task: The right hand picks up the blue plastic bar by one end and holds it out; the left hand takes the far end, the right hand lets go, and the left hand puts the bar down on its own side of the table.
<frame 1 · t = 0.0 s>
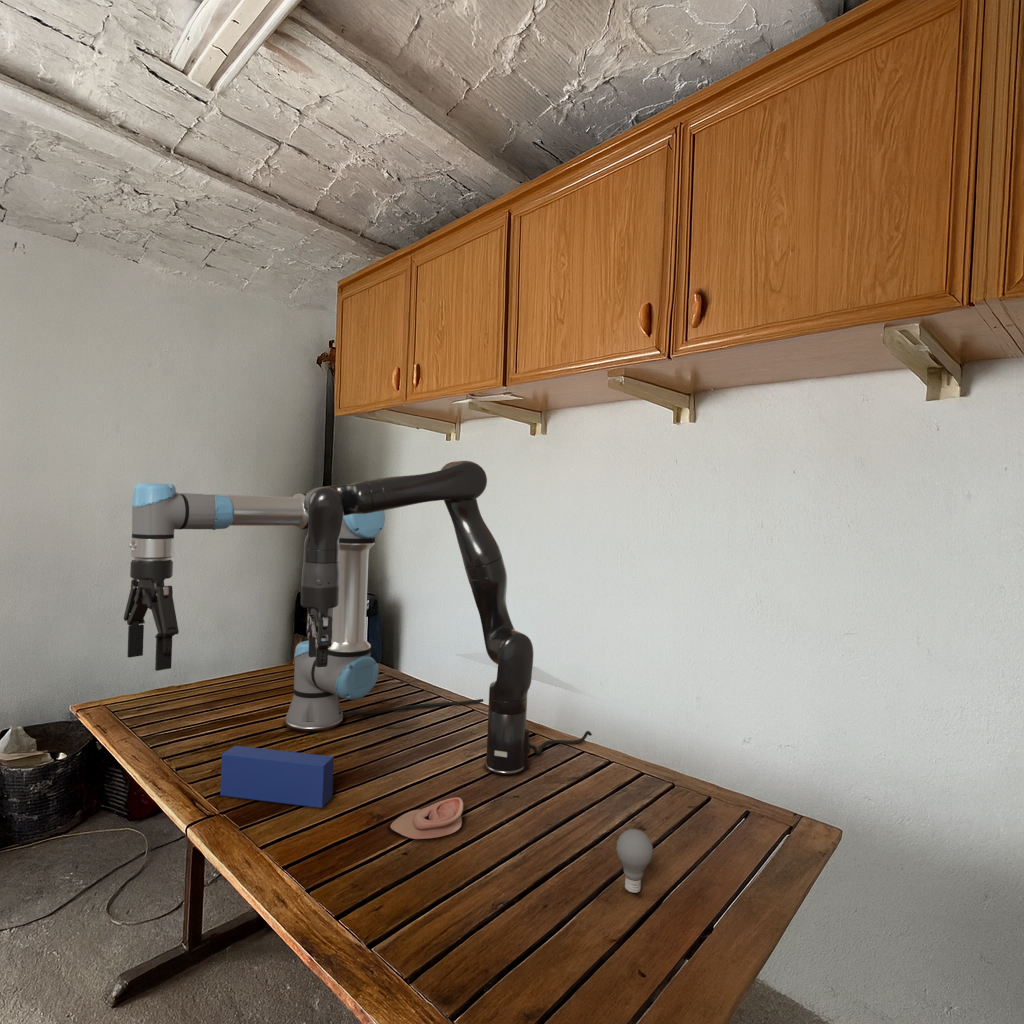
left hand: (148, 662, 129), 28 cm above the table, tool pointing down, fingers open, 13 cm apart
right hand: (317, 661, 131), 29 cm above the table, tool pointing down, fingers open, 8 cm apart
anatomical model: (427, 825, 124), on the table
fossil: (329, 681, 216), on the table
light bulb: (632, 891, 106), on the table
bar: (276, 796, 133), on the table
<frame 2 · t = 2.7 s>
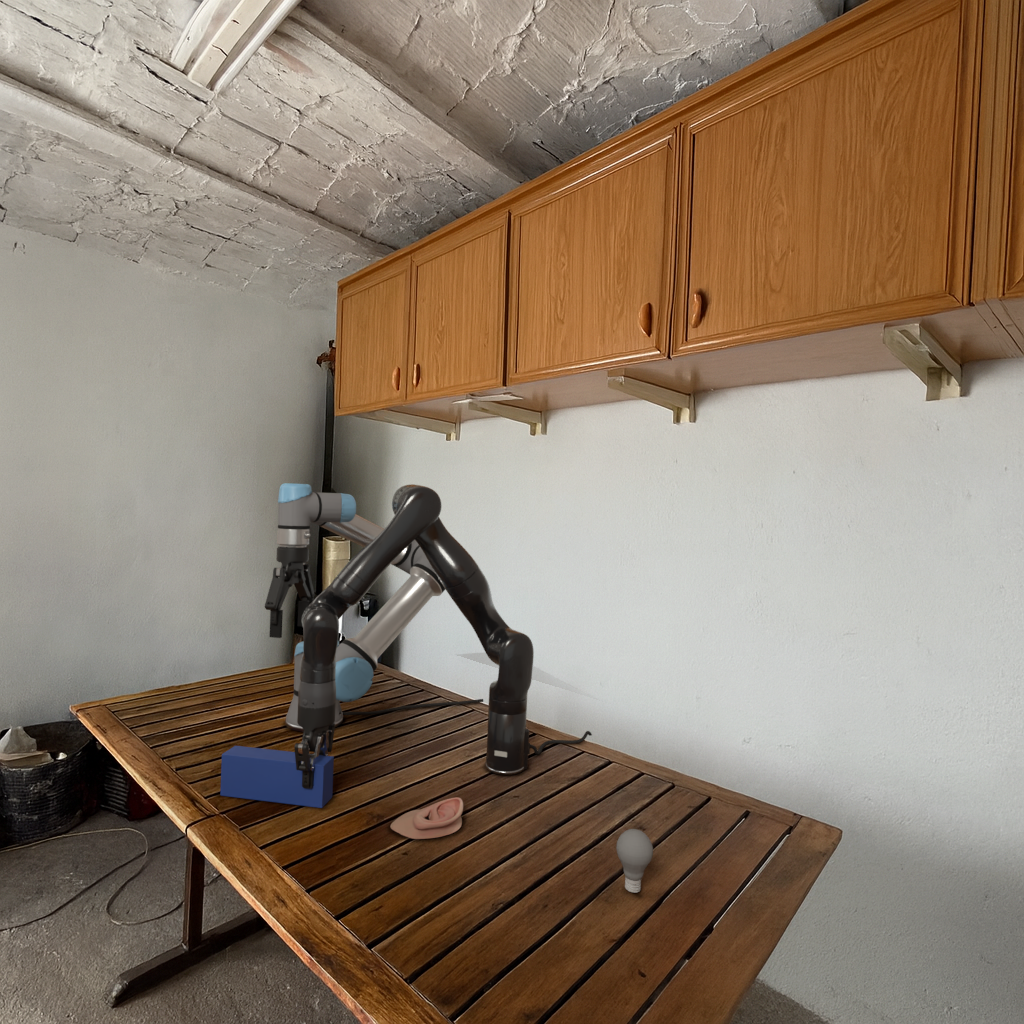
left hand: (289, 631, 156), 30 cm above the table, tool pointing down, fingers open, 13 cm apart
right hand: (314, 781, 132), 4 cm above the table, tool pointing down, fingers closed on bar, 5 cm apart
bar: (276, 796, 133), on the table, touching right hand
everything else where it was.
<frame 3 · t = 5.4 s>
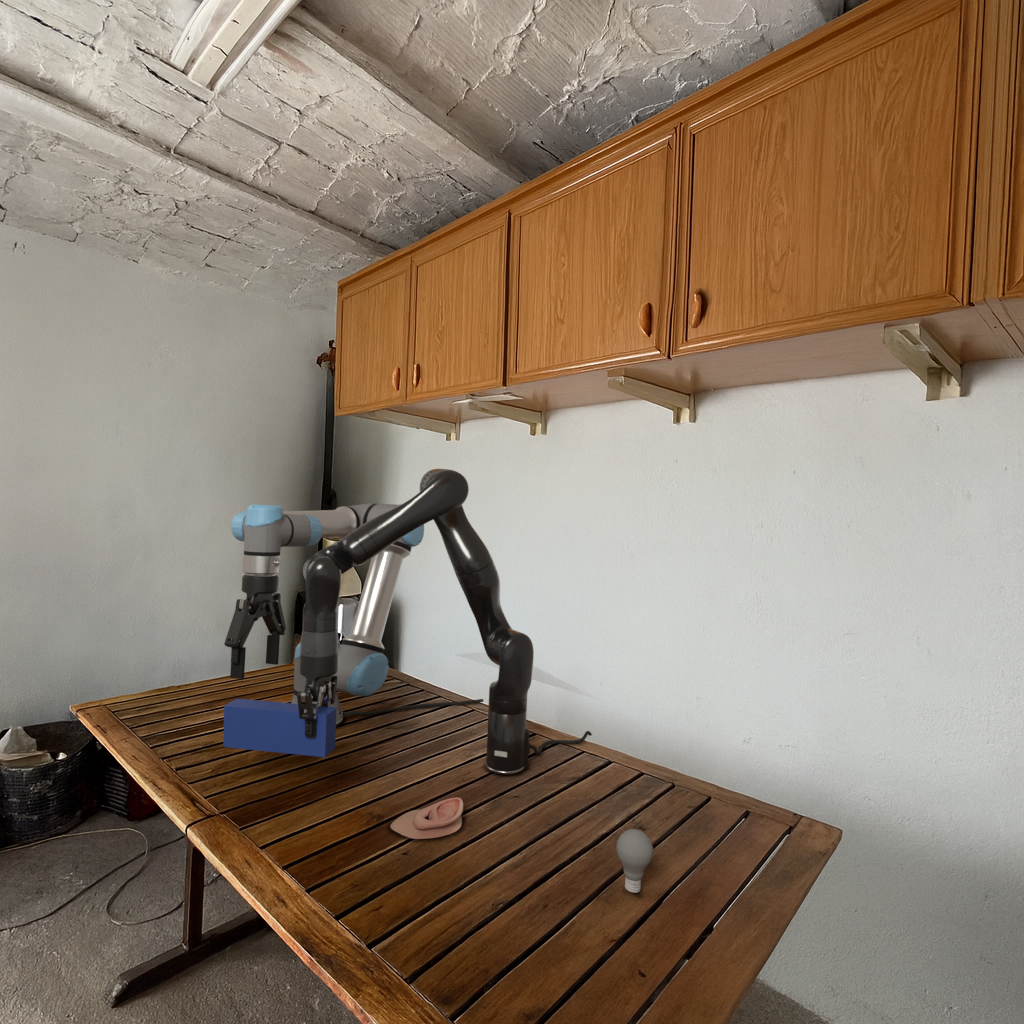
left hand: (255, 670, 139), 24 cm above the table, tool pointing down, fingers open, 13 cm apart
right hand: (316, 731, 132), 14 cm above the table, tool pointing down, fingers closed on bar, 5 cm apart
bar: (279, 747, 133), point 10 cm above the table, touching right hand
everything else where it was.
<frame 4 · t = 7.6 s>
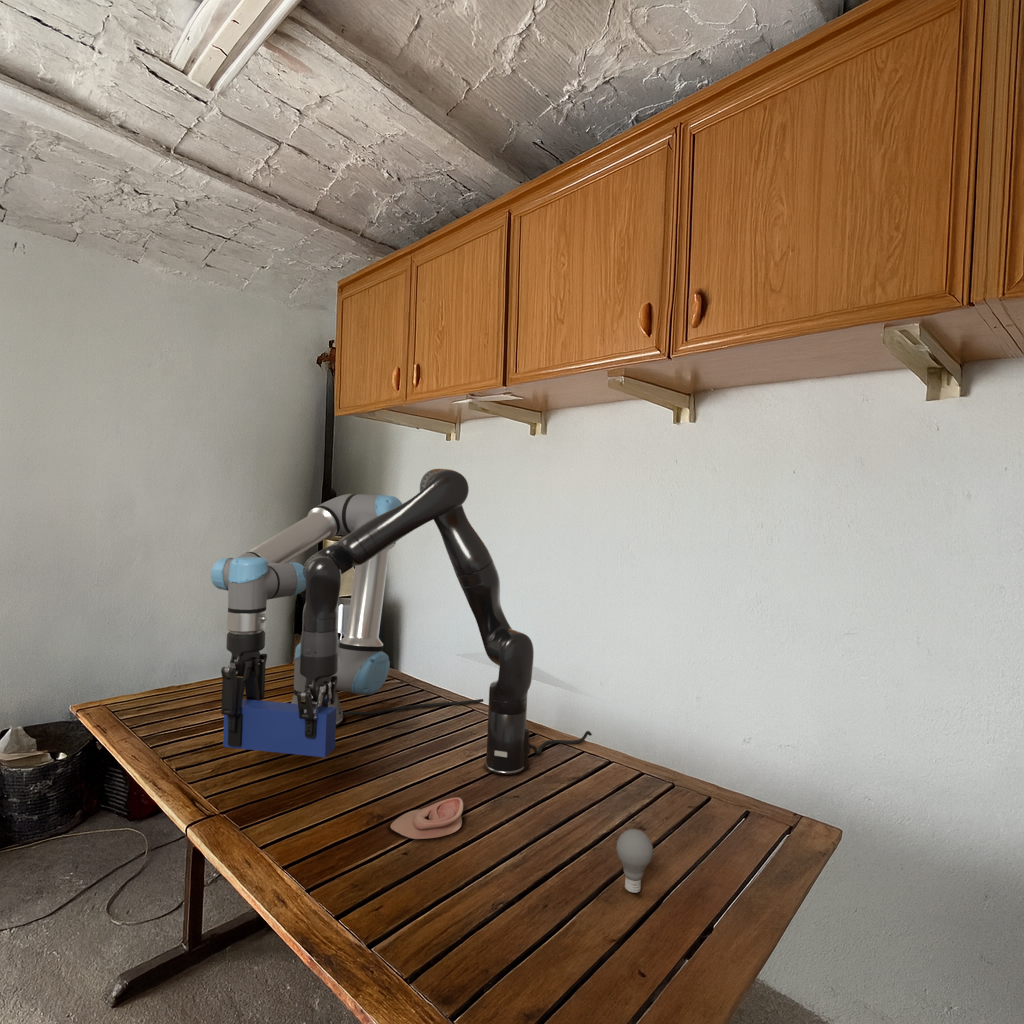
left hand: (242, 740, 134), 11 cm above the table, tool pointing down, fingers closed on bar, 5 cm apart
right hand: (316, 731, 132), 14 cm above the table, tool pointing down, fingers closed on bar, 5 cm apart
bar: (279, 747, 133), point 10 cm above the table, touching left hand, right hand
everything else where it was.
when the right hand's fingers open (14 cm above the table, at t = 8.6 s): bar stays where it is, held by the left hand.
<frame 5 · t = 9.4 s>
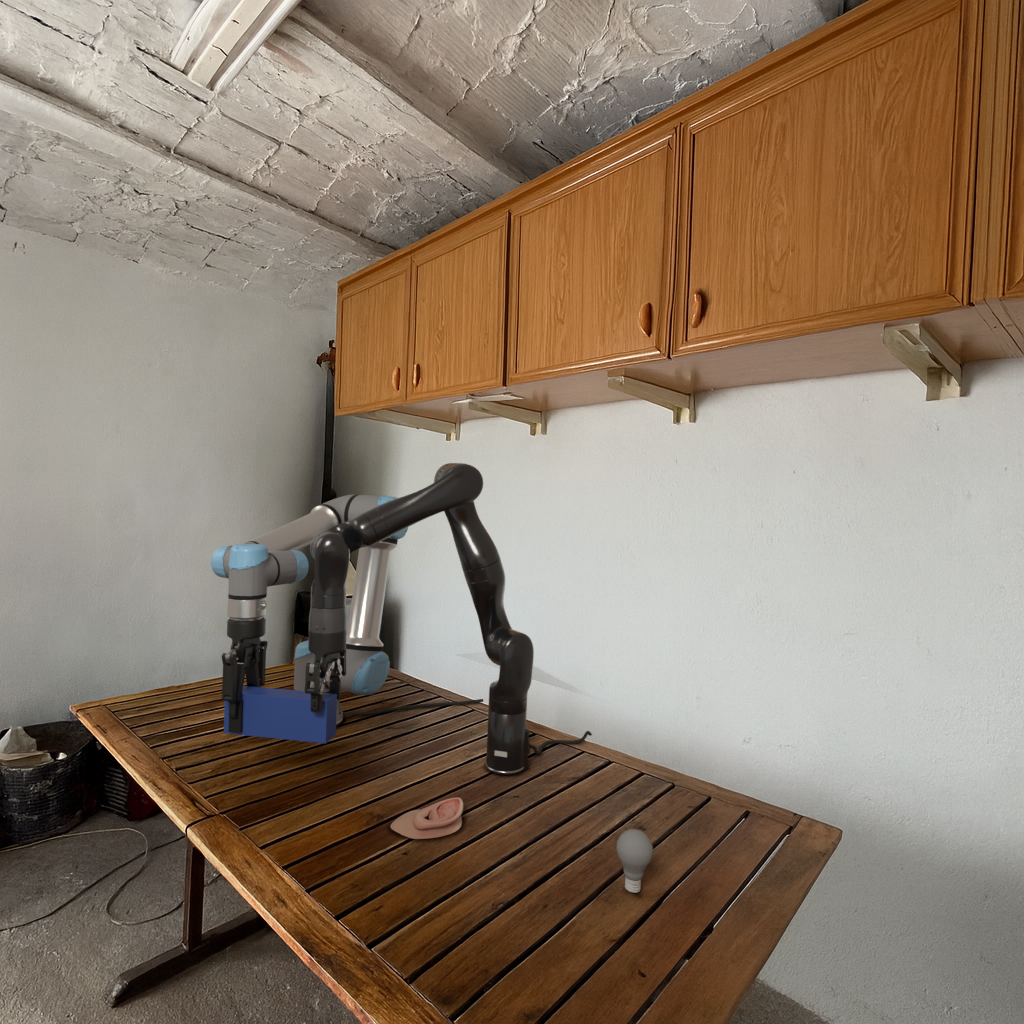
left hand: (243, 726, 134), 14 cm above the table, tool pointing down, fingers closed on bar, 5 cm apart
right hand: (326, 705, 131), 20 cm above the table, tool pointing down, fingers open, 8 cm apart
bar: (280, 734, 133), point 13 cm above the table, touching left hand
everything else where it was.
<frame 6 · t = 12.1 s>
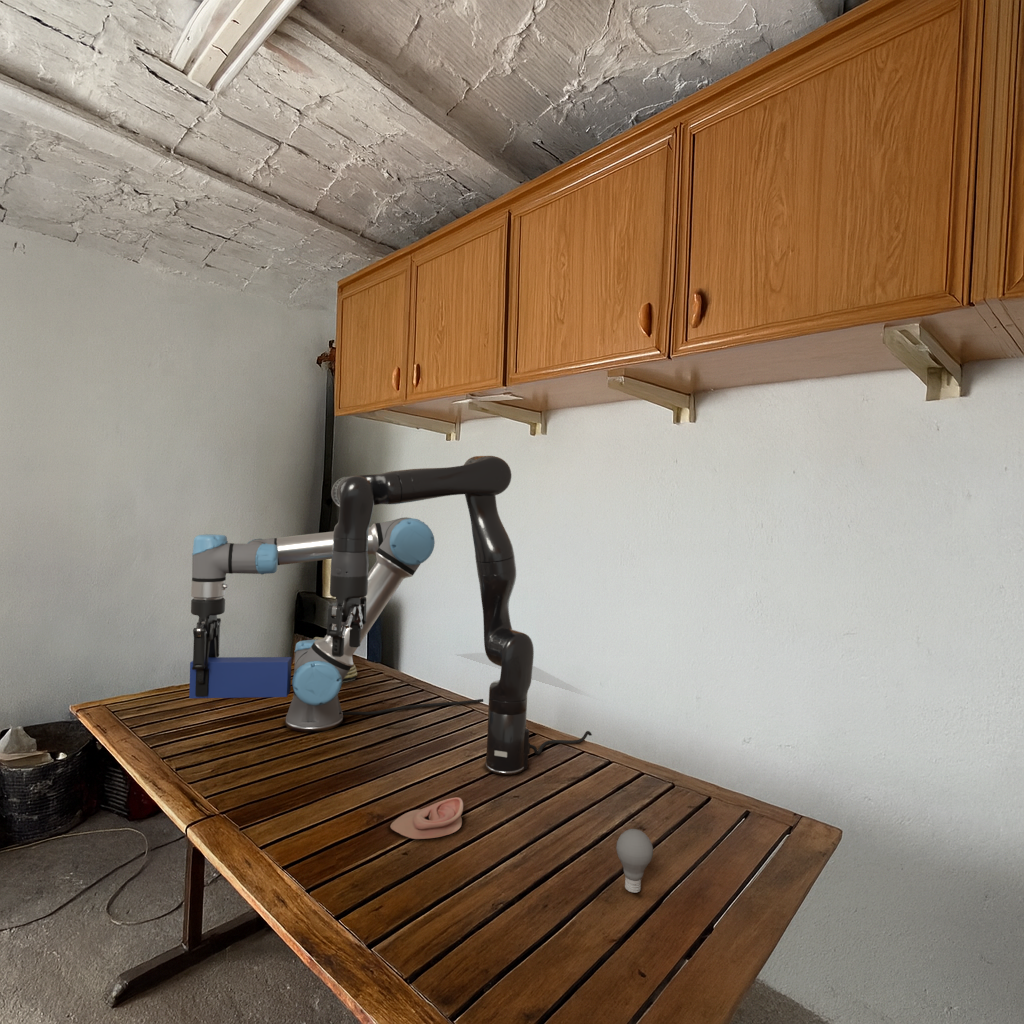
left hand: (205, 691, 156), 14 cm above the table, tool pointing down, fingers closed on bar, 5 cm apart
right hand: (346, 651, 130), 32 cm above the table, tool pointing down, fingers open, 8 cm apart
bar: (241, 694, 157), point 13 cm above the table, touching left hand
everything else where it was.
when the left hand's fingers open (2 cm above the table, at t = 16.9 s): bar drops 1 cm, on the table.
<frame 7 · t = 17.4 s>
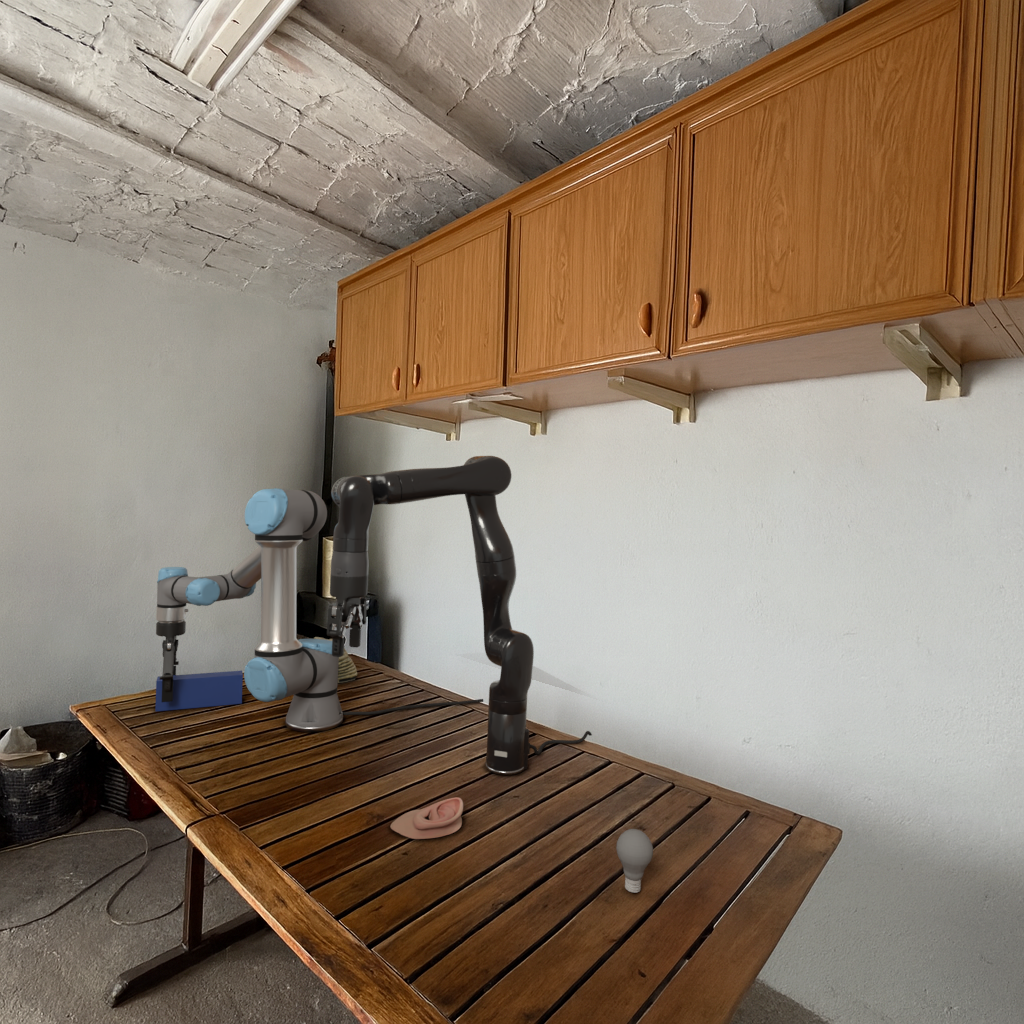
left hand: (168, 694, 183), 4 cm above the table, tool pointing down, fingers open, 12 cm apart
right hand: (346, 651, 130), 32 cm above the table, tool pointing down, fingers open, 8 cm apart
bar: (199, 704, 187), on the table
everything else where it was.
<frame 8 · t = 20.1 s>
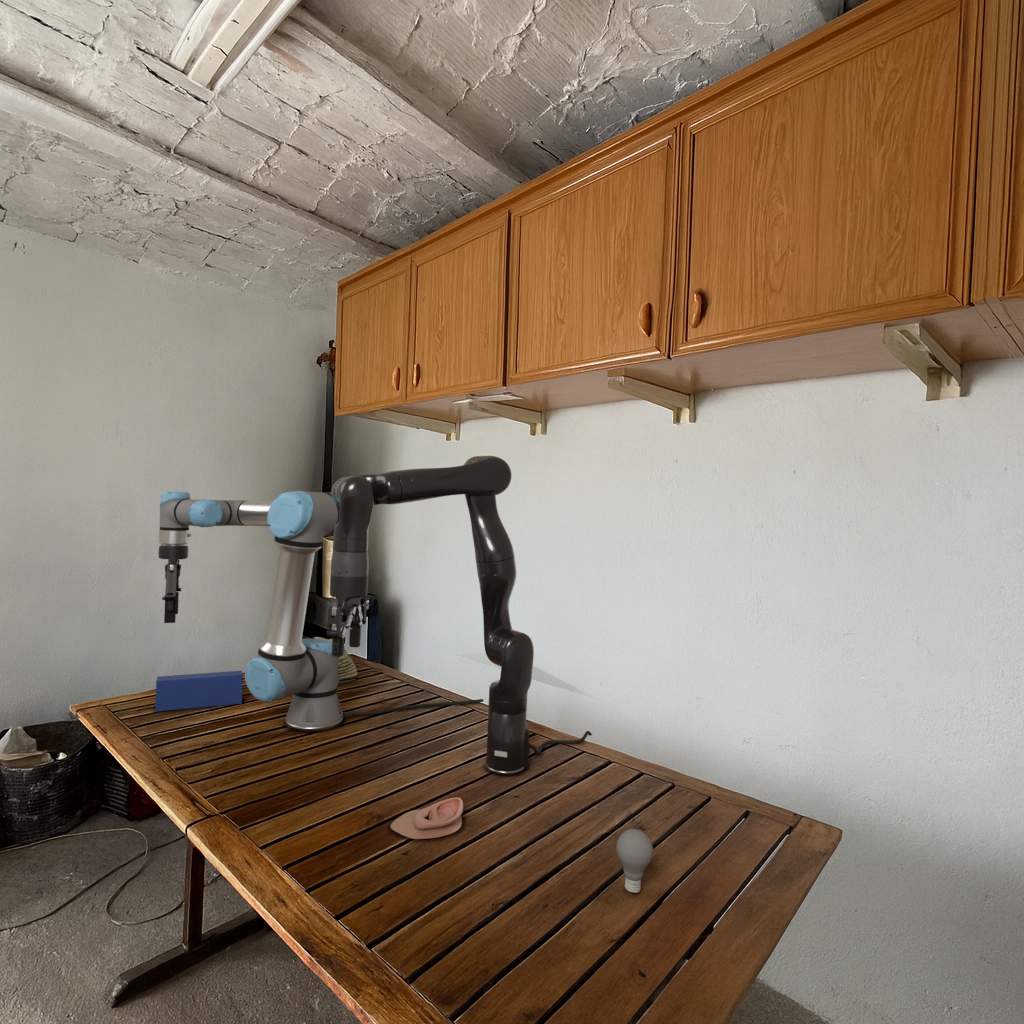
left hand: (171, 618, 183), 26 cm above the table, tool pointing down, fingers open, 13 cm apart
right hand: (346, 651, 130), 32 cm above the table, tool pointing down, fingers open, 8 cm apart
nothing on the table moved.
at the end: bar inside the target area (8.2 cm from its centre), on the table; the left hand is holding nothing; the right hand is holding nothing; bar at rest at the end (0.0 cm/s) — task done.
